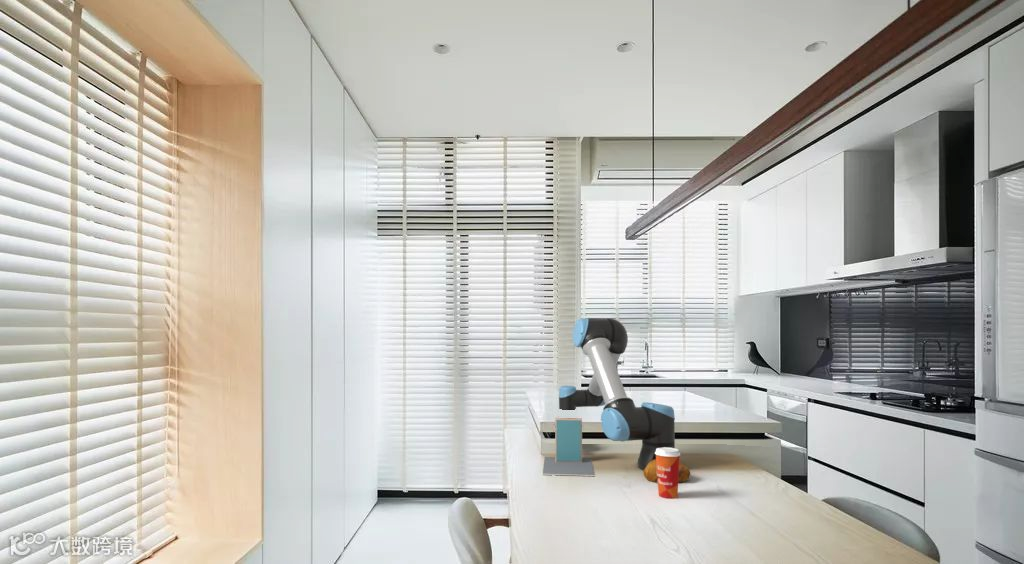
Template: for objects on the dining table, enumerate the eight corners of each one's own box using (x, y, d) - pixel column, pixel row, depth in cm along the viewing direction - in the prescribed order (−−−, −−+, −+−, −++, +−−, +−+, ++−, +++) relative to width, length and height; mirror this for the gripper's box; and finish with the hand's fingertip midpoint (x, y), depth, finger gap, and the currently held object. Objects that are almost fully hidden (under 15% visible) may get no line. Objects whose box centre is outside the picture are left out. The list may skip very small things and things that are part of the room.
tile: (555, 460, 224) (555, 417, 225) (581, 461, 224) (581, 418, 225) (555, 462, 222) (555, 418, 223) (582, 462, 221) (581, 419, 222)
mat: (544, 458, 231) (544, 456, 231) (591, 459, 229) (591, 457, 229) (542, 475, 205) (542, 473, 205) (595, 476, 203) (594, 474, 203)
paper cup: (649, 494, 183) (649, 448, 184) (669, 491, 186) (669, 446, 187) (666, 500, 176) (665, 453, 177) (686, 497, 179) (686, 450, 180)
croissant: (693, 491, 194) (696, 467, 195) (645, 484, 195) (649, 459, 195) (681, 478, 209) (684, 456, 209) (637, 471, 209) (640, 449, 210)
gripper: (582, 434, 252) (585, 445, 229) (552, 433, 254) (551, 445, 230) (582, 416, 253) (585, 426, 230) (552, 416, 254) (551, 425, 231)
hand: (568, 435), depth 230 cm, fingers closed
